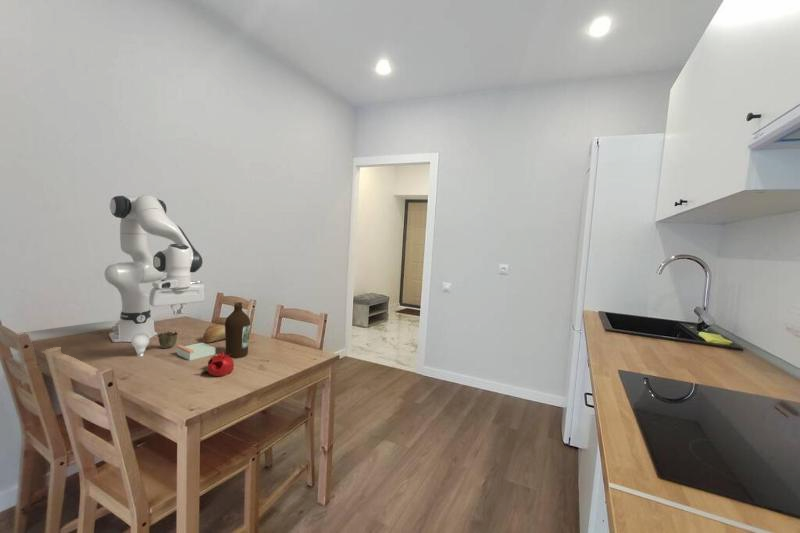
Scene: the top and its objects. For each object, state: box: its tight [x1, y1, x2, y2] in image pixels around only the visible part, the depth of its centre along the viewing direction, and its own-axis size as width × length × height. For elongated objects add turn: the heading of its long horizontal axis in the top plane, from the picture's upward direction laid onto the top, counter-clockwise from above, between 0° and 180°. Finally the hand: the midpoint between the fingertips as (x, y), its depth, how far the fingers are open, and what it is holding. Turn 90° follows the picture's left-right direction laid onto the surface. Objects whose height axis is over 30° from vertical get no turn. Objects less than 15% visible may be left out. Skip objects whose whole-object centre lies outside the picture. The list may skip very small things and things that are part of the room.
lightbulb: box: [130, 333, 151, 357], centre depth 146 cm, size 6×6×11 cm
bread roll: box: [203, 324, 225, 343], centre depth 177 cm, size 10×15×8 cm, turn 156°
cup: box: [157, 331, 178, 349], centre depth 158 cm, size 8×7×8 cm
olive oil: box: [224, 301, 251, 359], centre depth 157 cm, size 11×11×25 cm
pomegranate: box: [206, 350, 235, 377], centre depth 137 cm, size 10×10×9 cm
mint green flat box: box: [176, 341, 216, 361], centre depth 152 cm, size 11×11×4 cm
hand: (178, 314), depth 144 cm, fingers closed
